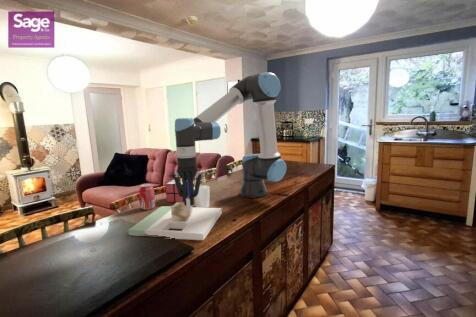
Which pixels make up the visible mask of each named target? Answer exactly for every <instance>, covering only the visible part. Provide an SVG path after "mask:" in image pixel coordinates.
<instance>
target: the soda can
mask: <svg viewBox="0 0 476 317" xmlns="http://www.w3.org/2000/svg"><path fill="white" fill-rule="evenodd" d="M139 186H140V187H139V189H138V191H139V193H138V194H139V204H140V208H141V209H143V210H145V211H146V210H147V211H149V210H152V209H154V207H156V197H155V188H154V185H153V184H152V183H143V184H141V185H139Z"/></svg>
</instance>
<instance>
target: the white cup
mask: <svg viewBox="0 0 476 317" xmlns="http://www.w3.org/2000/svg"><path fill="white" fill-rule="evenodd" d="M210 189H211V188H210V186H209V185H206V184H205V185H204V184H203V185H201V184H200V187H199V192H198V195H197V196H196V197H194V205H195V207H200V208H210V195H211V194H210V193H211V192H210ZM194 190H195V186H194Z"/></svg>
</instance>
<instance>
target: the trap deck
mask: <svg viewBox="0 0 476 317" xmlns="http://www.w3.org/2000/svg"><path fill="white" fill-rule="evenodd" d="M171 207H172V206H171V205H170V206H167V205H166V206H165V205H164V206H163V205H162V206H159V207H158V208H157V209H155V210H154V211H152V212H151V213H150V214H148V215H146V216H145V217H144V218H143V219H142V220H140V221H138V222H137V223H136V224H134V225H133V226H132V227H130V228H129V229H128V232H127V233H128V234H129V233H136V234H148V235H158V236H166V237H170V238H169V239H172V238H175V240H189V241H190V240H192V241H193V240H194V241H204V240H206V237H207V236H208V235H209V234H210V231H211V230H212V228H213V227H214V225H215V224H216V223H217V221H218V219H219V218H220V216H221V215H222V214H223V213H222V212H223V211H222V207H207V208H200V207H196V206H195V207H193V206H192V210H193V212H192V213H191V217H190V218H189V219H188V220H187V221H186V222H185V221H172V212H171ZM170 229H171V230H170ZM172 229H175V230H172ZM177 229H178V230H177Z"/></svg>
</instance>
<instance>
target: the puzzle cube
mask: <svg viewBox="0 0 476 317" xmlns="http://www.w3.org/2000/svg"><path fill="white" fill-rule="evenodd" d="M180 182H181V185H182V188H183V183H182V179H180ZM187 182H188V181H187ZM164 187H165V198H166V202H167V203H177V202H184V198H183V197H180V196H179V193H178V190H177V187H176V183H175V180H174V179H172V180H171V181H168V182H167V183H165V186H164ZM188 195H189V183H188ZM188 197H189V196H188Z"/></svg>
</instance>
